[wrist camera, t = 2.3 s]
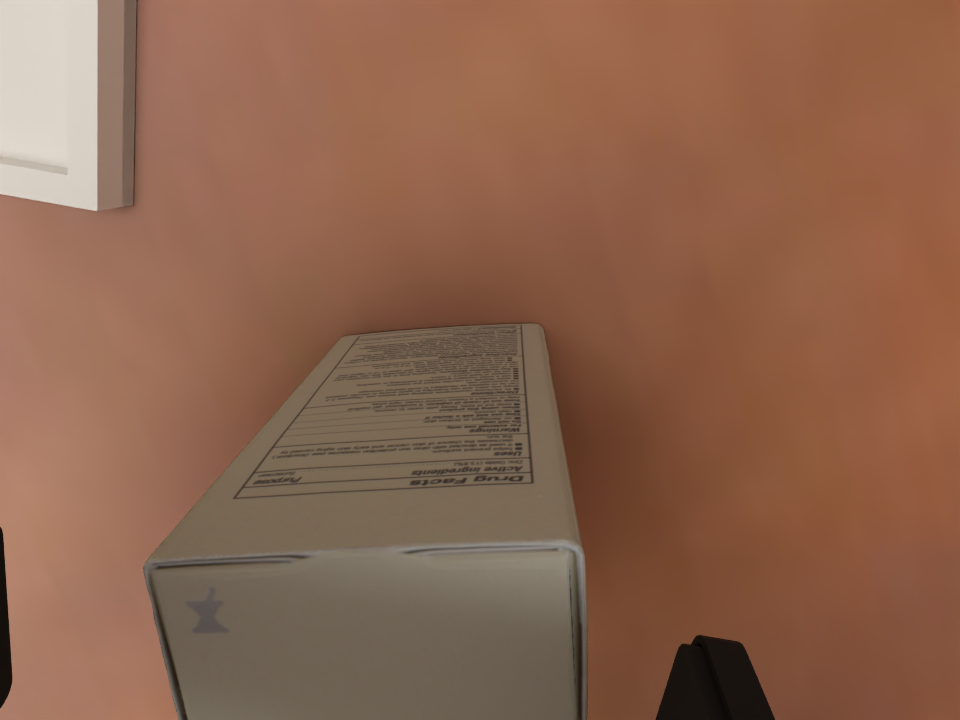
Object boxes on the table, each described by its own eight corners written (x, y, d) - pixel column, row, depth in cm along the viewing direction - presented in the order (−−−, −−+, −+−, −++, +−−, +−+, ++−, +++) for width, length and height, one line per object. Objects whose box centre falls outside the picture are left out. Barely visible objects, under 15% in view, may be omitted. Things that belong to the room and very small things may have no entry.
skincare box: (357, 462, 23) (173, 806, 11) (339, 330, 21) (110, 560, 10) (560, 454, 22) (595, 807, 10) (554, 318, 21) (585, 547, 9)
